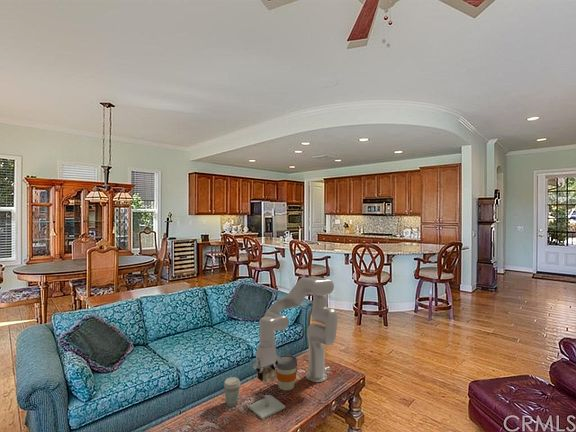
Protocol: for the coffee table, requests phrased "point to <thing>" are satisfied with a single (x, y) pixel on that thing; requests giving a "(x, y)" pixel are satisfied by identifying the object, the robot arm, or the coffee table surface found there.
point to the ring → (268, 374)
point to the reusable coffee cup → (286, 372)
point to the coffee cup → (232, 391)
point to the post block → (266, 406)
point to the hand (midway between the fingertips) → (266, 376)
